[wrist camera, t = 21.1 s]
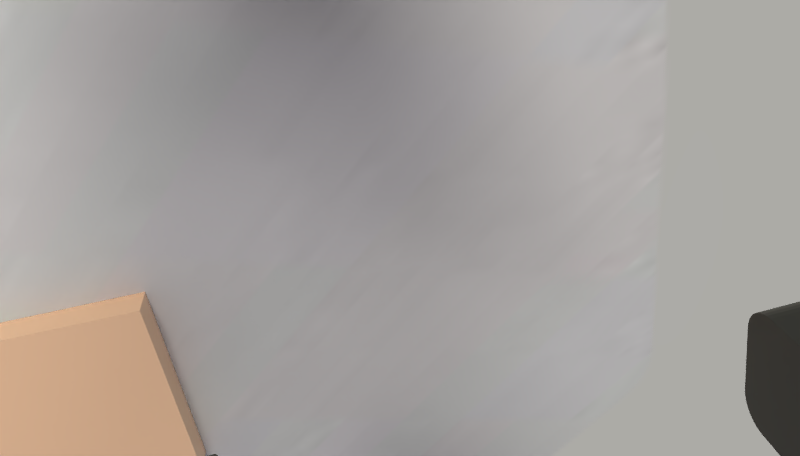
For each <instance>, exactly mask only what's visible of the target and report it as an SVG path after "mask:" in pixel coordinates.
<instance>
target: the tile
mask: <svg viewBox="0 0 800 456" xmlns="http://www.w3.org/2000/svg"><path fill="white" fill-rule="evenodd" d="M205 453H206V450H205V448H204V445H203V443H202V440H201V437H200V435H199V432H198V429H197V427H196V424H195V422H194V419H193V416H192V414H191V411H190V408H189V406H188V403H187V401H186V398H185V395H184V393H183V390H182V387H181V385H180V382H179V380H178V377H177V374H176V372H175V369H174V366H173V364H172V361H171V359H170V356H169V353H168V351H167V348H166V345H165V343H164V340H163V338H162V335H161V332H160V330H159V327H158V325H157V322H156V319H155V317H154V314H153V311H152V309H151V306H150V304H149V301H148V298H147V296H146V293H145V292H142V293H137V294H133V295H128V296H123V297H119V298H114V299H109V300H105V301H100V302H95V303H91V304H86V305H81V306H77V307H72V308H67V309H63V310H58V311H53V312H49V313H44V314H39V315H35V316H30V317H25V318H21V319H16V320H11V321H7V322H2V323H0V456H205Z"/></svg>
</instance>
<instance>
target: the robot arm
mask: <svg viewBox="0 0 800 456" xmlns="http://www.w3.org/2000/svg"><path fill="white" fill-rule="evenodd" d="M745 396H746V401H747V405H748V409H749V411H750V414H751V416H752V419H753V420H754V422H755V424H756V426H757V428H758V429H759V431H760V432H761V433H762V435H763V436H764V437H765V438H766V439H767V441H769V443H770V444H771V445H772V446H773V447H774V449H775V450H776V451H777V452H778V453H779V455H780V456H800V302H796V303H792V304H789V305H785V306H781V307H777V308H773V309H770V310H766V311H762V312H758V313H755V314H753V315H752V316H751V318H750V320H749V323H748V339H747V360H746V382H745ZM209 456H218V455H216V454H213V455H209Z"/></svg>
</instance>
